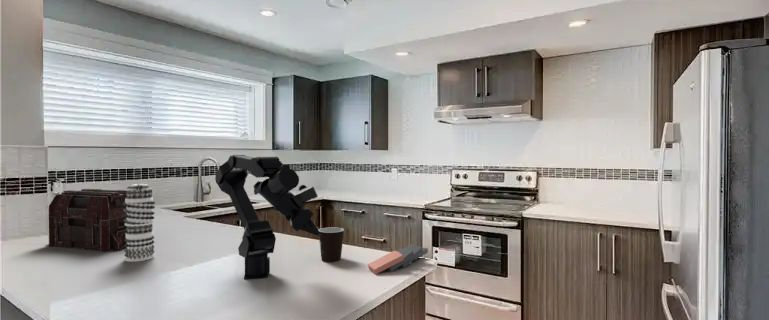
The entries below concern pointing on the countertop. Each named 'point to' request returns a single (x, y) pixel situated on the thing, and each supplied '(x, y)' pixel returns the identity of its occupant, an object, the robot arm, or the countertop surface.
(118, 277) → the countertop surface
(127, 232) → the decorative candle
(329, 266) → the countertop surface
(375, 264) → the domino
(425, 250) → the domino
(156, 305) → the countertop surface
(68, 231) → the crate
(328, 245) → the coffee mug
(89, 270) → the countertop surface
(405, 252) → the domino
